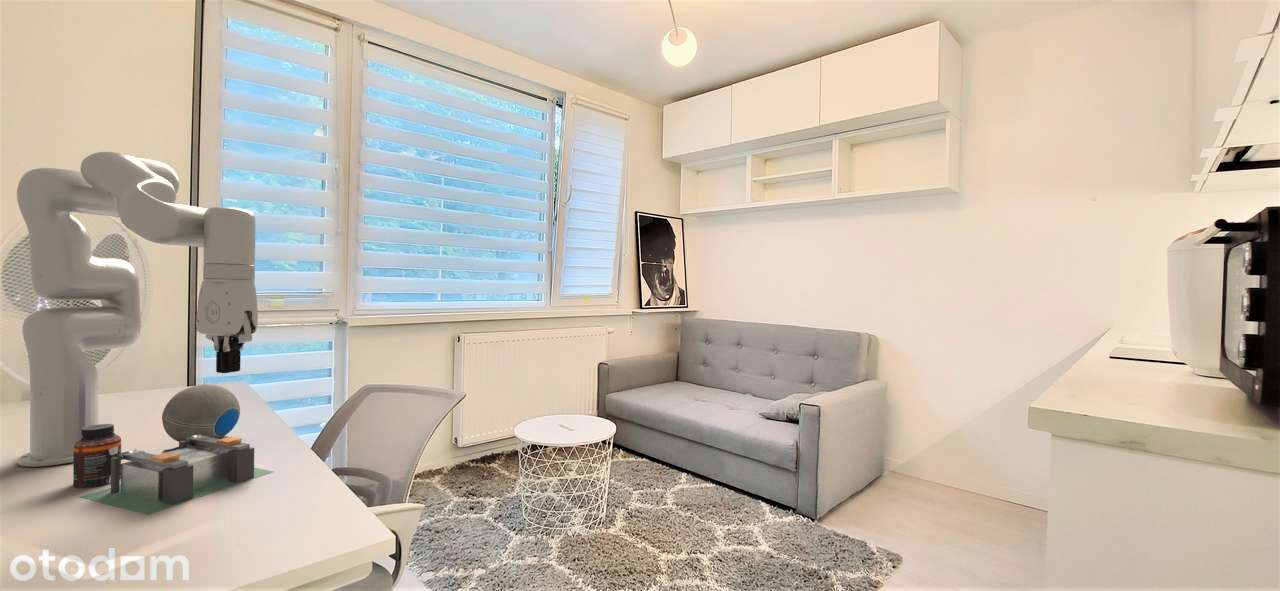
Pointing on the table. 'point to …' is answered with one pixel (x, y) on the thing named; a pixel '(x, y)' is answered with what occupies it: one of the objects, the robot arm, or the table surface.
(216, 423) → the grey egg-shaped pod
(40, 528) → the table surface
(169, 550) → the table surface
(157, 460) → the strap
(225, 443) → the strap
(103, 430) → the supplement bottle
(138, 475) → the plate
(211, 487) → the board
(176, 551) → the table surface
